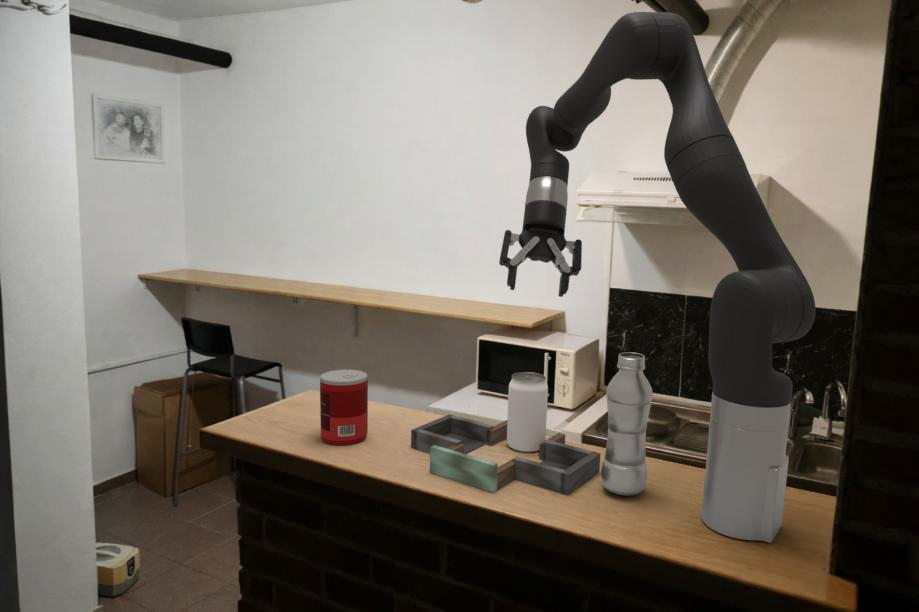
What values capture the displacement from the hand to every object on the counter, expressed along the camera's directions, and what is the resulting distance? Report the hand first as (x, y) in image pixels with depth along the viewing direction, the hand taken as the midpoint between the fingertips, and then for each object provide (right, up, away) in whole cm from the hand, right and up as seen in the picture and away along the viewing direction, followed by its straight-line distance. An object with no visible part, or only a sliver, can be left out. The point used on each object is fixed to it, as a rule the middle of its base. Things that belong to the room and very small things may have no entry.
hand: (536, 292), depth 121 cm
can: (-2, -26, -4) cm, 27 cm away
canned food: (-33, -25, -2) cm, 42 cm away
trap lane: (-7, -27, -10) cm, 29 cm away
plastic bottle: (+10, -29, -21) cm, 37 cm away
